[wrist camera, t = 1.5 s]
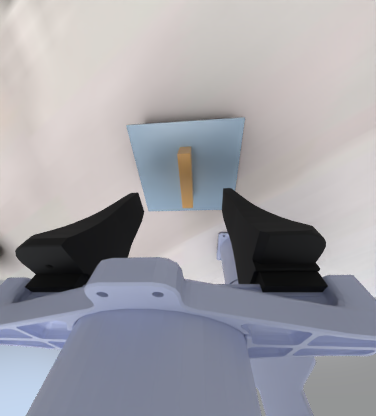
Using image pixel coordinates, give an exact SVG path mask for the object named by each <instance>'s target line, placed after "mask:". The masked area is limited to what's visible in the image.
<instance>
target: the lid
mask: <svg viewBox="0 0 376 416" xmlns="http://www.w3.org/2000/svg"><path fill="white" fill-rule="evenodd" d="M244 121H245V118H244V117H240V118H224V119H209V120H194V121H179V122H164V123H149V124H134V125H126V126H127V130H128V134H129V138H130V142H131V146H132V149H133V153H134V157H135V161H136V165H137V169H138V172H139V176H140V180H141V184H142V188H143V192H144V195H145V199H146V203H147V207H148V211H182V210H222V198H223V188H232V189H233V190H234V191H235V188H236V180H237V173H238V165H239V158H240V151H241V143H242V136H243V129H244Z"/></svg>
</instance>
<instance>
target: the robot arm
mask: <svg viewBox="0 0 376 416" xmlns="http://www.w3.org/2000/svg"><path fill="white" fill-rule="evenodd" d="M222 213H223V218H224V222H225V225H226V228H227V231H228V233H219V236H218V248H217V260H222V266H223V272H224V279H225V284H211V283H205V282H200V281H194V280H189V279H184V277H183V273H182V269H181V268H180V266H179V265H178V264H177V263H176V262H174V261H172V260H170V259H167V258H160V257H143V258H128V255H129V251H130V248H131V245H132V242H133V240H134V238H135V236H136V233H137V231H138V229H139V227H140V224H141V222H142V218H143V215H144V210H143V207H142V203H141V200H140V197H139V194H138V193H130V194H128V195H127V196H125V197H123V198H122V199H120V200H118V201H117V202H115V203H114V204H112V205H110V206H109V207H107V208H105V209H104V210H102V211H100V212H98V213H96V214H94V215H92V216H90V217H88V218H85V219H83V220H80V221H78V222H75V223H73V224H70V225H67V226H64V227H61V228H58V229H55V230H51V231H47V232H43V233H40V234H36V235H33V236H31V237H30V238H29V239H28V240H26V241H25V242H24V243H23V244H21V245H20V246H19V247H18V248H17V249H16V251H15V252H16V257H17V258H18V260H19V261H21V262H22V263H23V264H24V265H25V266H26V267H28V268H29V269H30V270H31V271H33V272H34V273H35V274H36V275H35V276H34V277H33V278H32V279H29V278H7V279H6V280H5V281H4V282H3V283H2V284H1V285H0V345H10V346H26V347H38V348H48V349H57V350H61V351H60V353H59V355H58V357H57V359H56V361H55V363H54V365H53V367H52V368H51V370H50V372H49V374H48V376H47V377H46V379H45V381H44V383H43V385H42V387H41V389H40V391H39V392H38V394H37V396H36V398H35V400H34V402H33V403H32V405H31V407H30V409H29V411H28V413H27V415H26V416H262V415H261V410H260V405H259V401H258V396H257V391H256V388H257V389H258V390H259V392H260V395H261V399H262V403H263V407H264V410H265V414H266V416H314V415H313V413H312V410H311V408H310V405H309V403H308V400H307V398H306V395H305V393H304V390H303V387H304V384H305V382H306V381H307V379H308V377H309V375H310V374H311V372H312V370H313V368H314V366H315V364H316V360H315V358H314V356H370V355H373V354H375V353H376V299H375V298H374V297H373V296H372V295H371V294H370V293H369V292H368V291H367V290H366V289H365V288H364V286H363V285H362V284H361V283H360V282H359V281H358V280H357V279H356V278H355V277H354V276H353V275H327V276H324V277H321V275H320V274H319V273H318V271H319V270H320V268H319V266H318V265H317V264H316V261H317V260H318V258H319V257H320V256H321V254H322V253H323V251H324V249H325V247H326V241H325V239H324V238H323V237H322V236H321V234H320V233H319V232H318V231H317V230H316V229H315V228H314V227H313V226H310V225H306V224H302V223H298V222H295V221H291V220H288V219H285V218H282V217H279V216H277V215H274V214H272V213H269V212H267V211H265V210H263V209H261V208H259V207H257V206H255V205H254V204H252V203H251V202H249V201H247V200H246V199H245V198H243V197H242V196H241V195H239V194H238V193H237V192H236V191H234V190H233V189H232V188H223V198H222ZM223 235H224V236H223Z"/></svg>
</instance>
